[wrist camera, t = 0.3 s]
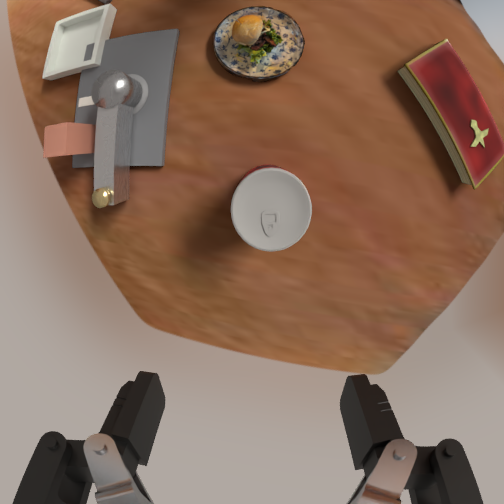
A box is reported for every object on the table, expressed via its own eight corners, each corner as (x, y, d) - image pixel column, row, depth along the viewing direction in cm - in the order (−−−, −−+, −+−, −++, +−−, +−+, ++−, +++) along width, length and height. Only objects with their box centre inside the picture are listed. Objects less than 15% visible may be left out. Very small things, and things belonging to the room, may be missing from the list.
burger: (273, 97, 32) (277, 83, 25) (197, 58, 30) (183, 39, 23) (318, 35, 28) (331, 12, 21) (244, -1, 26) (242, -28, 19)
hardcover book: (434, 44, 27) (448, 37, 23) (494, 150, 32) (509, 151, 28) (392, 70, 29) (406, 63, 25) (460, 185, 34) (476, 189, 31)
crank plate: (90, 46, 28) (86, 44, 27) (179, 31, 28) (177, 28, 27) (76, 167, 34) (71, 167, 33) (164, 165, 35) (161, 165, 34)
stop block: (79, 128, 31) (45, 126, 24) (100, 125, 32) (67, 122, 24) (77, 154, 33) (43, 157, 25) (98, 152, 33) (65, 155, 25)
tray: (64, 25, 25) (56, 21, 23) (116, 9, 26) (109, 3, 23) (51, 80, 29) (42, 78, 27) (103, 67, 29) (94, 63, 27)
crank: (112, 80, 29) (92, 72, 24) (144, 76, 29) (127, 65, 24) (105, 199, 35) (84, 207, 29) (136, 200, 35) (117, 208, 30)
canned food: (247, 230, 37) (243, 260, 27) (230, 173, 35) (219, 181, 25) (303, 216, 37) (320, 240, 26) (288, 157, 34) (301, 158, 24)
